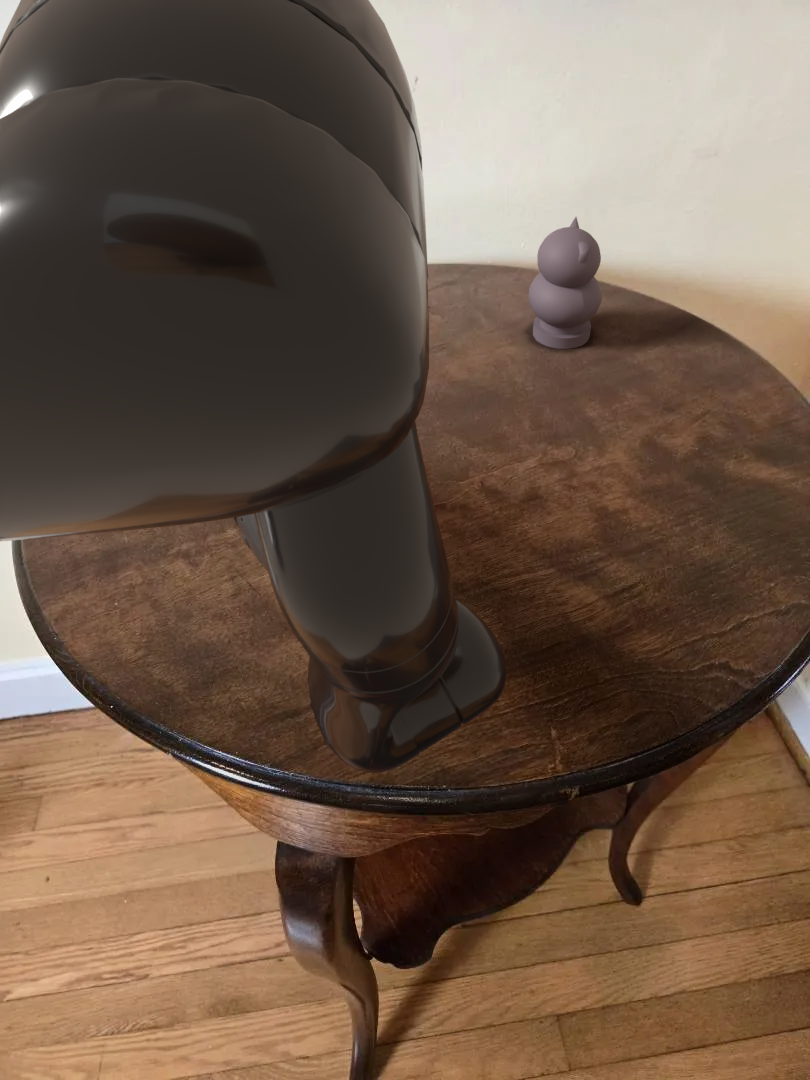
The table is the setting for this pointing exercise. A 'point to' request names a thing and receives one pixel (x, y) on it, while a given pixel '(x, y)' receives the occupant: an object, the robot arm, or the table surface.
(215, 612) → the table surface
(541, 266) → the cat figurine
